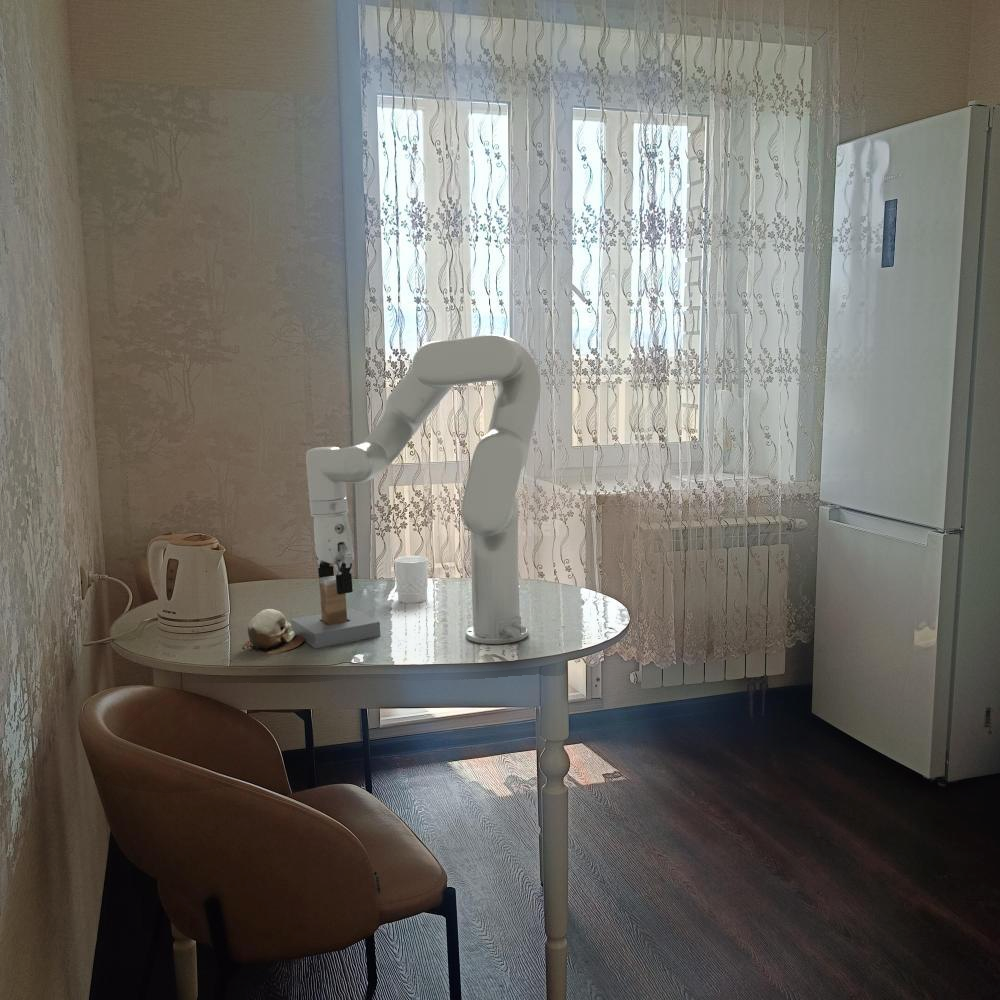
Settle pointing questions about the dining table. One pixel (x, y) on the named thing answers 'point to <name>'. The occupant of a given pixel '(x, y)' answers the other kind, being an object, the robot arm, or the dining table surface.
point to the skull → (271, 633)
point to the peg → (332, 602)
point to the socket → (335, 629)
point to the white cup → (411, 578)
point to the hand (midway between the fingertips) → (335, 589)
